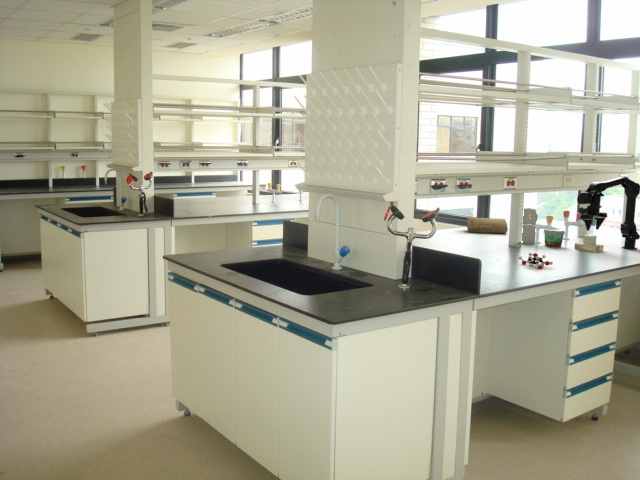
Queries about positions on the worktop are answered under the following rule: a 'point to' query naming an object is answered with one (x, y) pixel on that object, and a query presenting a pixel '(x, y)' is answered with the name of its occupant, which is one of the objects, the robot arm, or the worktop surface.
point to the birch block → (589, 247)
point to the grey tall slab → (529, 231)
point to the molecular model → (535, 261)
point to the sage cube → (589, 239)
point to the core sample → (486, 225)
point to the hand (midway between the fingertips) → (592, 230)
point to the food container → (553, 238)
